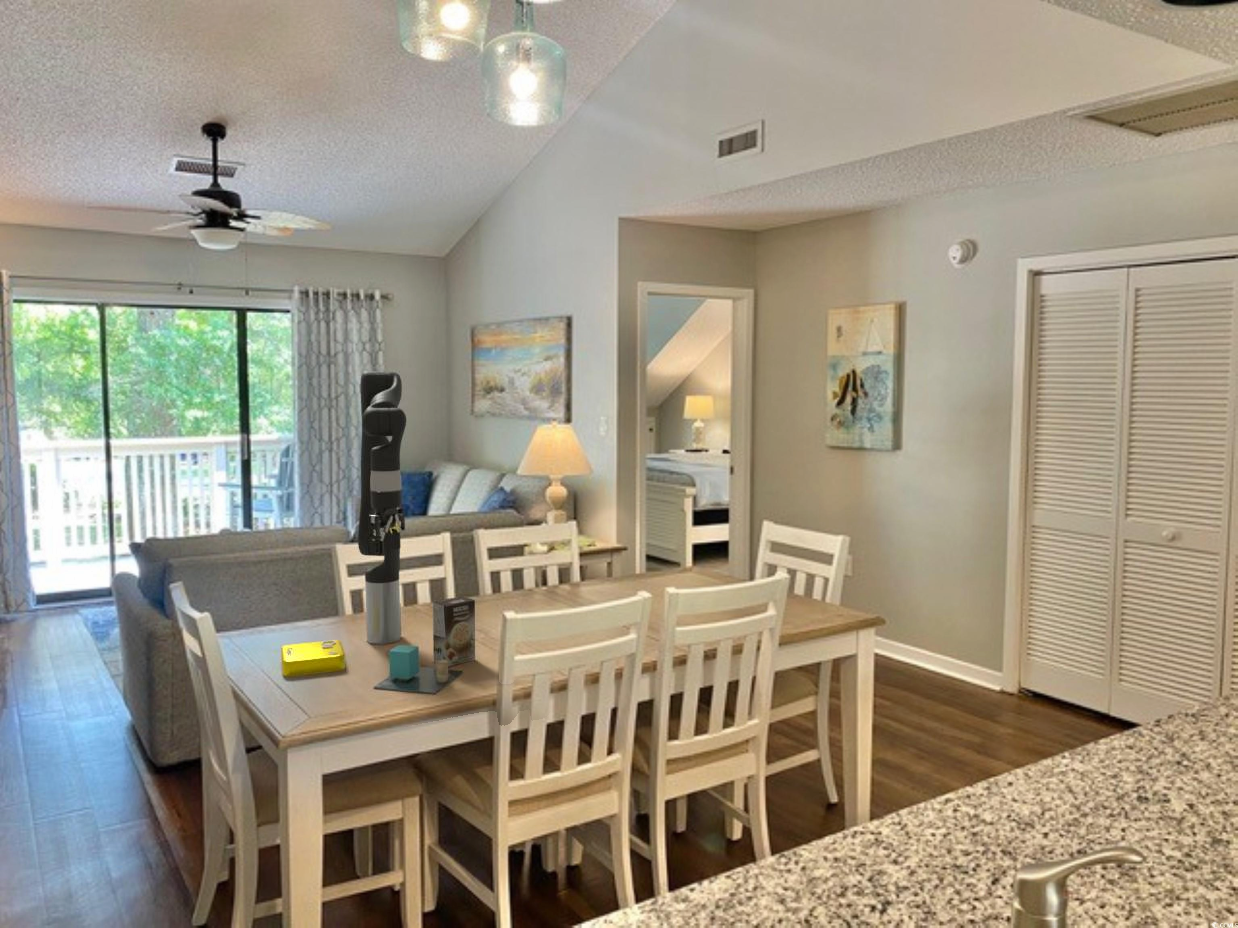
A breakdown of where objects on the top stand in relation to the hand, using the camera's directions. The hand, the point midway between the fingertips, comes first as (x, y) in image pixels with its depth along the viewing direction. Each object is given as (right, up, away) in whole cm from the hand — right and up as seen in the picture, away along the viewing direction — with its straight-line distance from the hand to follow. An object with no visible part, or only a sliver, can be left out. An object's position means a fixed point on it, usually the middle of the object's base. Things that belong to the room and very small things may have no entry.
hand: (387, 552), depth 229 cm
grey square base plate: (+9, -31, -5) cm, 33 cm away
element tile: (-21, -30, +6) cm, 37 cm away
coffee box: (+15, -30, +10) cm, 34 cm away
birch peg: (+15, -31, -7) cm, 35 cm away
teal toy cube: (+5, -30, -4) cm, 31 cm away
